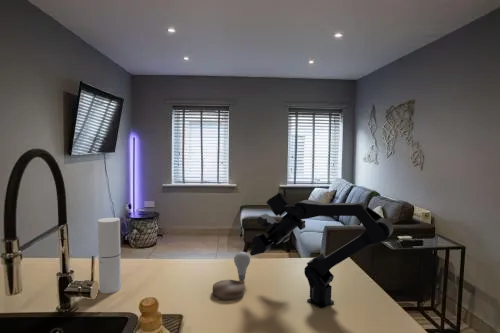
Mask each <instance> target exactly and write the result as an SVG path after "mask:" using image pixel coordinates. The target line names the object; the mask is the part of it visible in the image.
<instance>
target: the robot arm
mask: <svg viewBox="0 0 500 333" xmlns="http://www.w3.org/2000/svg"><path fill="white" fill-rule="evenodd" d="M266 205H267V206H268V207H269V209H270V210H271V212H272V213H273V214H274V216H276V217H278V216H279V217H281V218H280V219H279V220H278V221H277V220H276V219H275V218H273V217H272V216H271V215H269V214H268V213H264V214H261V215H259V216H258V217H257V218H256V224H257V225H258V226H259V227H261V228H263V229H264V232H265V233H266V234H267V237H266V236H265V234H264V233H262V232H261V233H258V234H255V235H254V236H253V237H251V241H252V242H253V246H252V248H251V249H250V253H249V254H250V256H256V255H259V254H264V253H266V252H268V251H269V250H270V249H272V248H273V247H276V246H279V245H282V244H284V243H285V242H288V240H290V239H291V235H292V232H293V231H294V230H296V229H297V228H298V229H299V230H300V231H301V230H304V229H305V228H306V220H308V219H312V218H316V217H320V216H321V217H322V216H323V217H329V216H330V217H331V216H332V217H355V218H356V219H358V221H359V222H360V224H361V225H362V226H363V227H364V228H365V230H364V231H363V232H362V233H361V234H360V235H358V236H356V237H355V238H353V239H352V240H351V241H349V242H348V243H345V244H344V245H343V246H341V247H340V248H338V249H336V250H334V251H332V252H331V253H330V254H328V255H324V253H323V252H321V253H320V254H318V255H317V256H316V257H313V258H311V260H309V261H308V262H307V263H306V266H305V267H304V272H303V273H304V275H305V278H306V279H307V281H308V282H307V283H308V285H309V298H307V300H306V302H308V303H310V304H312V305H315V306H316V307H318V308H320V309H323V308H326V307H328V306H331V305H332V304H334V303H335V301H334V300H332V285H331V284H330V283H332V282H333V280H334V277H335V276H334V274H333V273H332V271H330V270H331V269H332V268H333V267H335V266H337V265H338V264H340V263H342V262H343V261H345V260H347V259H349V258H350V257H352V256H353V255H355V254H357V253H358V252H360V251H361V250H363V249H365V248H366V247H369V246H374V245H377V244H379V243H382V242H384V241H386V240H387V239H389V237H390V236H391V235H392V234H393V233H394V224H393V223H392V221H390V220H389V219H388V218H385V217H382V216H381V215H380V214H379V213H378V212H376V211H375V210H374V209H372V208H370V207H369V206H368V205H367V204H366V203H365V202H361V201H359V202H344V203H343V202H328V203H327V202H325V203H324V202H319V201H316V200H311V199H304V200H302V201H301V200H300V201H298V202H293V203H290V202H289V201H288V199H287V198H286V196H285V194H284V193H283V192H282V191H281V192H278V193H276V194H275V195H273V196H272V197H270V198H269V199H268V200H267V201H266Z"/></svg>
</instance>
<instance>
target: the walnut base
mask: <svg viewBox="0 0 500 333" xmlns="http://www.w3.org/2000/svg"><path fill="white" fill-rule="evenodd" d="M244 295H245V284H244V283H243V282H241V281H239V280H235V279H223V280H220V281H215V283H213V285H212V296H213V297H214V298H215V299H217V300H220V301H235V300H236V301H237V300H238V299H241V298H243V297H244Z"/></svg>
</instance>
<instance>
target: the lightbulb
mask: <svg viewBox="0 0 500 333" xmlns="http://www.w3.org/2000/svg"><path fill="white" fill-rule="evenodd" d="M233 262H234V265H235V267H236V269H237V270H236V271H237V274H238V276H237V277H238V279H239V280H240V281H244V280H246V274H247V269H248V267H249V265H250V263H251V257H250V255H249V254H248V253H247V252H245V251H240V252H237V253H236V254H235V256H234V259H233Z"/></svg>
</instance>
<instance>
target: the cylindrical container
mask: <svg viewBox="0 0 500 333" xmlns="http://www.w3.org/2000/svg"><path fill="white" fill-rule="evenodd" d="M97 232H98V233H97V236H98V237H97V240H98V241H97V242H98V243H97V245H98V274H99V275H98V283H99V284H98V286H99V288H98V289H99V292H100V293H102V294H112V293H116V292H118V291H120V290H121V289H122V281H121V280H122V271H121V270H122V267H121V262H122V261H121V260H122V259H121V258H122V257H121V219H120V217H116V216H115V217H104V218H103V217H102V218H99V219H98V220H97Z"/></svg>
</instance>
